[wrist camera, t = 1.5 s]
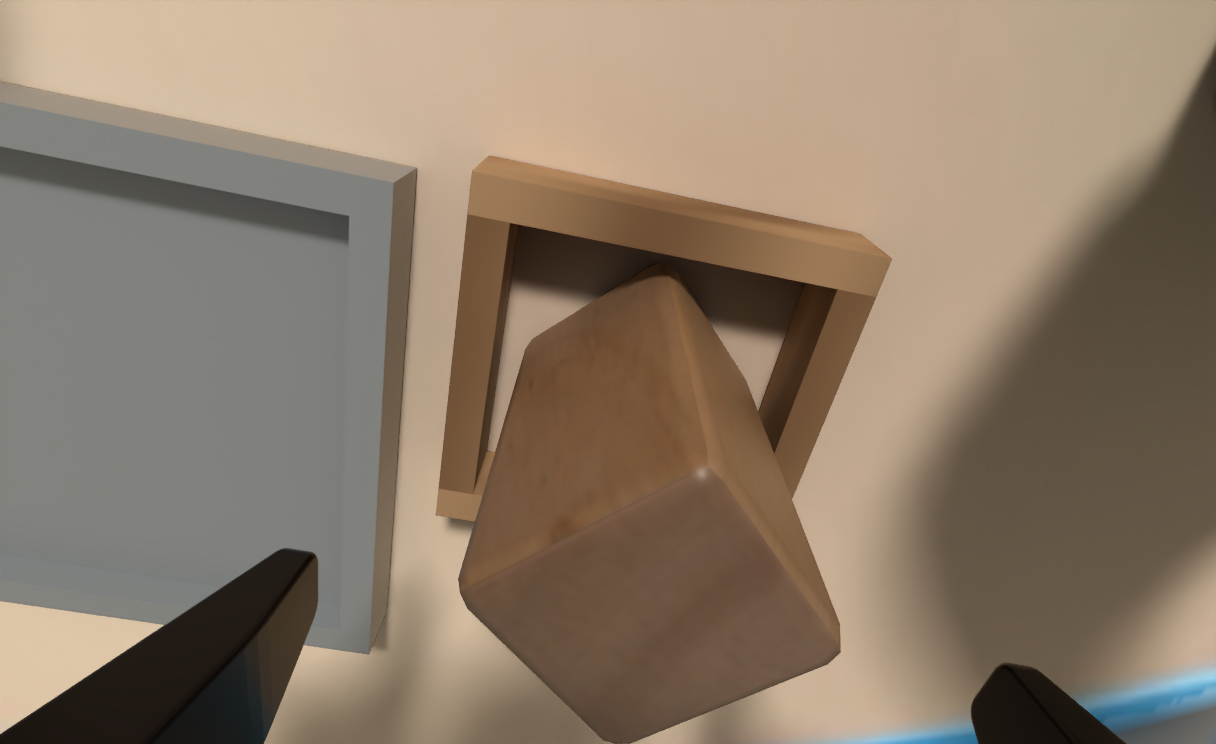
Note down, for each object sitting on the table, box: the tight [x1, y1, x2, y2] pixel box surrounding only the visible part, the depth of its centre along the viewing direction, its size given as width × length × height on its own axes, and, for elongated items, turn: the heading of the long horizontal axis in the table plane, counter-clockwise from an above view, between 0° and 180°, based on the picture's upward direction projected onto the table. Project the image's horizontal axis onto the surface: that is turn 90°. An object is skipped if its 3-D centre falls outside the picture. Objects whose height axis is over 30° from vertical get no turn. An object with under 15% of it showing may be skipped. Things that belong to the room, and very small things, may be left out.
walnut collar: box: [436, 156, 892, 522], centre depth 15 cm, size 8×8×2 cm
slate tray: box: [0, 81, 417, 654], centre depth 15 cm, size 13×13×2 cm
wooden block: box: [458, 263, 841, 744], centre depth 12 cm, size 4×4×8 cm
